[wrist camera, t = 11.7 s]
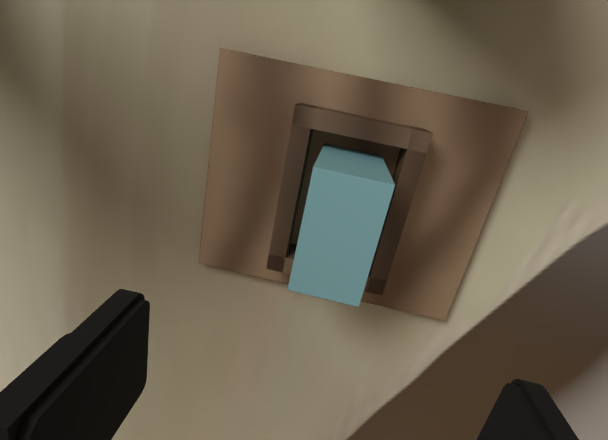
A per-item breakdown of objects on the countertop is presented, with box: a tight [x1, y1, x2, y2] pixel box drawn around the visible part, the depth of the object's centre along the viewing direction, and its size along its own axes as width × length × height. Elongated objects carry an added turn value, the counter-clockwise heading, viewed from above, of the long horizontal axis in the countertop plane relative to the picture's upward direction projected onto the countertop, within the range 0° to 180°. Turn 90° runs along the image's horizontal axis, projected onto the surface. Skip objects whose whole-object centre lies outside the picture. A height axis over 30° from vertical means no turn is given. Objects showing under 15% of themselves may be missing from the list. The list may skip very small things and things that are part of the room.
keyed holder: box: [199, 48, 528, 321], centre depth 26 cm, size 20×16×4 cm
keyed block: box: [288, 143, 395, 307], centre depth 23 cm, size 7×4×8 cm, turn 169°
